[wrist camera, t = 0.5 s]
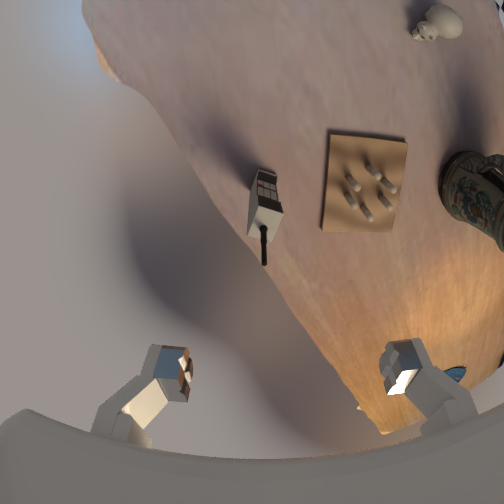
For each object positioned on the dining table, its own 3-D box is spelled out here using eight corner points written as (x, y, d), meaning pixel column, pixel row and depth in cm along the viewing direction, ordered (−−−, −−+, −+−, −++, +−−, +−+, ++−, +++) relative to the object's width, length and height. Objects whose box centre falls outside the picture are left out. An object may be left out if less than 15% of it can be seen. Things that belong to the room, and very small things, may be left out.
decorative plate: (426, 399, 116) (428, 407, 112) (404, 391, 106) (407, 400, 102) (471, 372, 101) (474, 380, 97) (457, 359, 91) (461, 369, 87)
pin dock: (329, 133, 47) (337, 140, 42) (405, 142, 46) (420, 150, 41) (321, 228, 58) (326, 244, 53) (389, 229, 57) (399, 244, 52)
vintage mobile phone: (277, 174, 52) (289, 247, 31) (268, 197, 54) (273, 281, 34) (258, 168, 51) (257, 238, 30) (249, 191, 54) (243, 272, 33)
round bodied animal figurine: (397, 21, 34) (404, 21, 29) (440, 0, 26) (453, -2, 21) (418, 50, 37) (428, 55, 32) (460, 30, 29) (475, 33, 23)
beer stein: (457, 225, 56) (514, 291, 35) (417, 178, 50) (487, 243, 30) (494, 179, 48) (559, 232, 27) (458, 124, 42) (542, 165, 22)
